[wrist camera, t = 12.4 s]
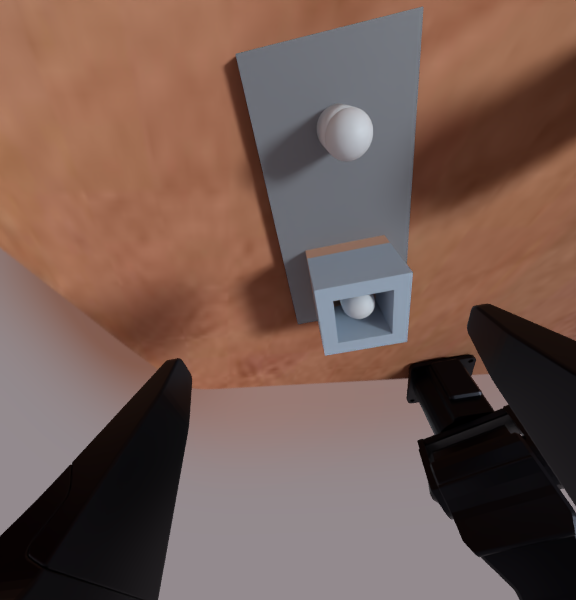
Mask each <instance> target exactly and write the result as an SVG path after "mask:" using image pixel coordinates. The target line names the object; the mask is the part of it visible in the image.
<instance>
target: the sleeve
mask: <svg viewBox="0 0 576 600" xmlns="http://www.w3.org/2000/svg"><path fill="white" fill-rule="evenodd" d="M306 257H307V263H308V269H309V274H310V280H311V286H312V292H313V298H314V303H315V309H316V314H317V319H318V324H319V329H320V333H321V338H322V343H323V348H324V353H325V355H331V354H337V353H343V352H349V351H355V350H361V349H367V348H372V347H378V346H384V345H390V344H396V343H402V342H407V336H408V324H409V312H410V300H411V287H412V275H413V272H412V271H411V269H410V268H409V267H408V265H407V264H406V263H405V261H404V260H403V259H402V258H401V256H400V255H399V254H398V252H397V251H396V250H395V248H394V247H393V246H392V244H391V243H390V242H389V241H388V239H387V238H386V237H385V235H381V236H376V237H371V238H366V239H361V240H356V241H351V242H346V243H341V244H336V245H331V246H326V247H321V248H316V249H311V250H306ZM369 294H373V295H374V298H375V307H374V310H373V312H372V313H371V314H370V315H369V316H367V317H366V318H363V319H354V318H351V317H349V316H348V315H347V314H346V313H345V312H344V310H343V308H342V305H341V302H340V300H342V299H347V298H353V297H358V296H364V295H369Z"/></svg>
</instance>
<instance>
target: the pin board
mask: <svg viewBox="0 0 576 600" xmlns="http://www.w3.org/2000/svg"><path fill="white" fill-rule="evenodd" d="M422 20H423V7H419V8H415V9H411V10H407V11H403V12H399V13H396V14H392V15H388V16H384V17H380V18H376V19H372V20H368V21H364V22H360V23H356V24H352V25H348V26H344V27H340V28H336V29H332V30H328V31H324V32H320V33H316V34H312V35H308V36H305V37H301V38H297V39H293V40H289V41H285V42H281V43H277V44H273V45H269V46H265V47H261V48H257V49H253V50H249V51H245V52H241V53H237V54H236V58H237V63H238V67H239V71H240V76H241V80H242V84H243V89H244V93H245V97H246V102H247V106H248V110H249V115H250V119H251V123H252V128H253V132H254V136H255V141H256V145H257V149H258V153H259V158H260V162H261V166H262V171H263V175H264V179H265V184H266V188H267V192H268V197H269V201H270V205H271V210H272V214H273V218H274V223H275V227H276V231H277V236H278V240H279V244H280V249H281V253H282V257H283V261H284V266H285V270H286V274H287V279H288V283H289V287H290V292H291V296H292V300H293V305H294V309H295V313H296V318H297V322H298V324H302V323H308V322H314V321H318V319H317V314H316V309H315V303H314V298H313V292H312V286H311V280H310V274H309V269H308V263H307V257H306V250H311V249H316V248H321V247H326V246H331V245H336V244H341V243H346V242H351V241H356V240H361V239H366V238H371V237H376V236H381V235H385V237H386V238H387V239H388V241H389V242H390V243H391V244H392V246H393V247H394V248H395V250H396V251H397V252H398V254H399V255H400V256H401V258H402V259H403V260H404V261H405V263H406V264H407V251H408V236H409V220H410V205H411V189H412V174H413V159H414V143H415V128H416V112H417V97H418V82H419V66H420V51H421V35H422ZM340 302H341V305H342V308H343V310H344V312H345V313H346V314H347V315H348V316H349V317H351V318H354V319H363V318H366V317H367V316H369V315H370V314H371V313H372V312H373V310H374V307H375V298H374V295H373V294H369V295H364V296H358V297H353V298H347V299H342V300H340Z"/></svg>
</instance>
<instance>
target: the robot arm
mask: <svg viewBox="0 0 576 600" xmlns="http://www.w3.org/2000/svg"><path fill="white" fill-rule="evenodd" d="M467 330H468V334H469V336H470V338H471V340H472V342H473V344H474V346H475V347H476V349H477V351H478V353H479V355H480V357H481V359H482V361H483V363H484V365H485V367H486V369H487V371H488V373H489V375H490V376H491V378H492V380H493V381H494V383H495V384H496V386H497V388H498V389H499V391H500V392H501V394H502V395H503V397H504V398H505V400H506V401H507V403H508V404H509V405H507V406H504V407H503V409H500V410H497V411H494V410H493V408H492V407H491V405H490V404H489V402H488V401H487V400H486V398H485V397H484V395H483V394H482V392H481V390H480V389H479V387H478V386H477V384H476V383H475V382H474V380H473V379H472V377H471V375H472V372H473V368H474V365H475V362H476V359H475V357H474V356H473V355H466V356H460V357H454V358H448V359H442V360H435V361H429V362H423V363H417V364H413V365H411V366H410V368H409V378H408V389H407V401H408V403H416V402H419V403H420V405H421V407H422V409H423V411H424V413H425V415H426V418H427V420H428V422H429V424H430V426H431V428H432V430H433V432H434V435H433V436H431V437H428V438H426V439H420V440H418V445H419V448H420V449H419V452H420V456H421V459H422V462H423V466H424V469H425V472H426V475H427V479H428V483H429V490H430V494H431V496H432V499H433V500H434V501H436V502H438V503H439V504H440V505H441V507H442V508H443V510H444V512H445V513H446V514H447V516H448V517H449V518H450V519H454V521H455V523H456V525H457V528H458V530H459V533H460V535H461V538H462V540H463V541H464V543H465V544H466V545H467V546H468V547H469V548H470V549H471V550H472V551H473V552H474V553H475V554H476V555H477V556H478V557H481V558H482V559H483V560H484V561H485V562H486V563H487V564H488V565H489V566H490V567H491V568H492V569H494V570H495V571H496V572H497V573H498V574H499V575H500V576H501V577H502V578H503V579H504V580H505V581H506V582H507V583H508V584H509V585H510V586H511V587H512V588H513V589H514V590H515V592H516V593H517V595H518V597H519V599H520V600H576V513H575V511H574V510H573V508H572V506H571V505H570V503H569V502H568V501H567V499H566V498H565V496H564V495H563V494H562V492H561V491H560V489H565V490H566V492H567V493H568V495H569V496H570V498H571V499H572V501H573V503H574V504H575V505H576V341H575V340H572V339H570V338H568V337H566V336H563V335H561V334H559V333H556V332H554V331H552V330H549V329H547V328H545V327H542V326H540V325H538V324H535V323H533V322H531V321H528V320H526V319H524V318H521V317H519V316H517V315H514V314H512V313H510V312H507V311H505V310H503V309H501V308H498V307H496V306H494V305H491V304H481V305H476V306H473V308H472V309H471V313H470V317H469V320H468V324H467ZM191 390H192V376H191V374H190V372H189V370H188V369H187V367H186V365H185V364H184V362H183V361H182V360H181V359H180V358H177V359H171V360H167V361H166V362H165V363H164V364H163V365H162V366H161V367H160V368H159V369H158V370H157V371H156V373H155V374H154V375H153V376H152V377H151V378H150V379H149V380H148V381H147V382H146V383H145V385H144V386H143V387H142V388H141V389H140V390H139V391H138V392H137V393H136V394H135V395H134V396H133V397H132V399H131V400H130V401H129V402H128V403H127V404H126V405H125V406H124V407H123V408H122V409H121V410H120V412H119V413H118V414H117V415H116V416H115V417H114V418H113V419H112V420H111V421H110V422H109V423H108V424H107V425H106V427H105V428H104V429H103V430H102V431H101V432H100V433H99V434H98V435H97V436H96V438H94V439H93V441H92V442H91V443H90V444H89V445H88V446H87V447H86V448H85V449H84V450H83V451H82V452H81V454H80V455H79V456H78V457H77V458H76V459H75V460H74V461H73V462H72V465H69V467H68V468H67V469H66V470H65V471H64V472H63V473H62V474H61V475H60V476H59V477H58V478H57V479H56V480H55V481H54V482H53V484H52V485H51V486H50V487H49V488H48V489H47V490H46V491H45V492H44V493H43V494H42V495H41V496H40V497H39V498H38V499H37V500H36V501H35V502H34V503H33V504H32V505H31V506H30V507H29V508H28V509H27V510H26V511H25V512H24V513H23V514H22V515H21V516H20V517H19V518H18V519H17V520H16V521H15V522H14V523H13V524H12V525H11V526H10V527H9V528H8V529H7V530H6V531H5V532H4V533H3V534H2V535H1V536H0V600H158V597H159V591H160V586H161V580H162V574H163V568H164V563H165V558H166V552H167V546H168V540H169V535H170V529H171V524H172V519H173V513H174V507H175V502H176V496H177V491H178V485H179V479H180V474H181V468H182V462H183V457H184V452H185V446H186V440H187V435H188V428H189V419H190V405H191ZM520 434H522V436H521V435H520Z"/></svg>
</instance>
